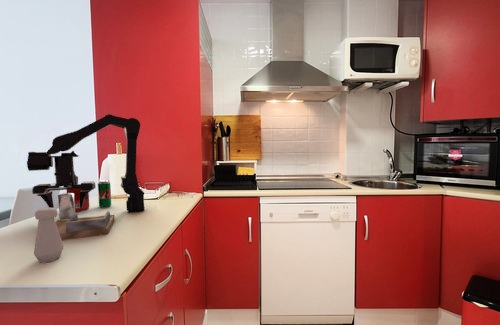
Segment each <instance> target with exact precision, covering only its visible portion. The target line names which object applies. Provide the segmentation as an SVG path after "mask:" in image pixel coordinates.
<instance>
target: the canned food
mask: <svg viewBox="0 0 500 325" xmlns="http://www.w3.org/2000/svg"><path fill="white" fill-rule="evenodd" d="M81 191H82V190H81V189H68V190H66V193H74V200H75V213H76V212H83V211H87V210H90V194H89V193H90V192H88V193H87V195H86V197H85V200H84V204H83V207H82V208H80V192H81Z"/></svg>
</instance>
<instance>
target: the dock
mask: <svg viewBox="0 0 500 325" xmlns="http://www.w3.org/2000/svg"><path fill="white" fill-rule="evenodd" d="M115 218H116V217H115V213H113V214H111V211H109V210H108V211H106V213H105V214H103V215H96V216H95V215H93V216H82V217H78V214H77V213H75V215H73V216H72V217H71V218H70V219H62V220H60V219H55V222H56V225H57V228H58V231H59V234H60V237H61V240H62V241H63V240H71V239H74V240H75V239H79V238H88V237H96V236H97V237H98V236H104V235H109V233H110V231H111V229H112V227H113V225H114V222H115Z"/></svg>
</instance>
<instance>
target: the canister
mask: <svg viewBox="0 0 500 325" xmlns="http://www.w3.org/2000/svg"><path fill="white" fill-rule="evenodd" d="M57 202H58V215H59V216H58V217H59V220H62V219H70V218H71V217H72V216H73V215H75V214H76V212H75V200H74V193H67V192H65V193H58V194H57Z"/></svg>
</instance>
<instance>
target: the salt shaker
mask: <svg viewBox="0 0 500 325" xmlns="http://www.w3.org/2000/svg"><path fill="white" fill-rule="evenodd" d="M57 216H58V209H57V208H55V207H54V208H49V207H43V208H40V209H37V210H36V211H35V212H34V217H35V219H36V220H38V222H37V229H36V237H35V243H34V249H33V254H34V255H33V256H34V257H35V259H36V260H37V261H38V262H39V261H40V262H39V263H42V262H46V263H50V262H49V261H51V262H54V261H56V260H58V259H60V258H59V257H61V255H62V252H63V251H64V243H63V240H61V237H60V234H59V231H58V228H57V225H56V219H55V218H56V217H57ZM57 258H58V259H57ZM55 259H56V260H55ZM53 260H54V261H53Z"/></svg>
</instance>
